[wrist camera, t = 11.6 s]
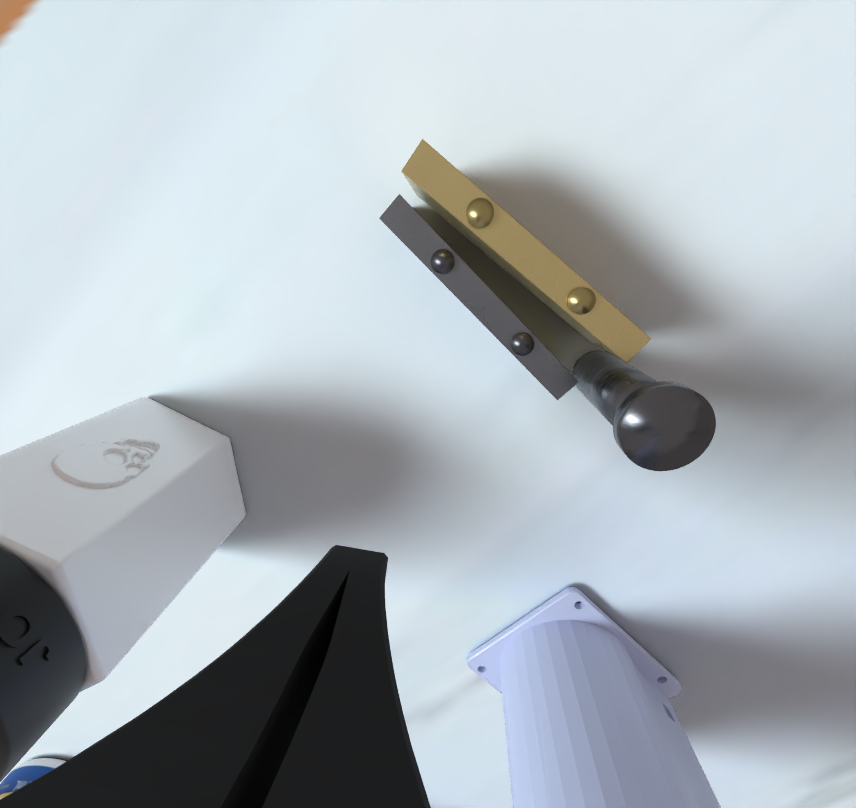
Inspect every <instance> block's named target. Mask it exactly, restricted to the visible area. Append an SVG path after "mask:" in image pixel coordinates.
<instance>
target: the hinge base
mask: <svg viewBox="0 0 856 808" xmlns="http://www.w3.org/2000/svg"><path fill="white" fill-rule="evenodd" d="M380 219H381V221H382V222H383V223H384V224H385V225H386V226H387V227H388V228H389V229H390V230H391V231H392V232H393V233H394V234H395V235H396V236H397V237H398V238H399V239H400V240H401V241H402V242H403V243H404V244H405V245H406V246H407V247H408V248H409V249H410V250H411V251H412V252H413V253H414V254H415V255H416V256H417V257H418V258H419V259H420V260H421V261H422V262H423V263H424V264H425V265H426V266H427V267H428V268H429V269H430V271H431V272H432V273H433V274H434V275H435V276H436V277H437V278H438V279H439V280H440V281H441V282H442V283H443V284H444V285H445V286H446V287H447V288H448V289H449V290H450V291H451V292H452V293H453V294H454V295H455V296H456V297H457V298H458V299H459V300H460V301H461V302H462V303H463V304H464V305H465V306H466V307H467V308H468V309H469V310H470V311H471V312H472V313H473V314H474V315H475V316H476V317H477V318H478V319H479V321H480V322H481V323H482V324H483V325H484V326H485V327H486V328H487V329H488V330H489V331H490V332H491V333H492V334H493V335H494V336H495V337H496V338H497V339H498V340H499V341H500V342H501V343H502V344H503V345H504V346H505V347H506V348H507V349H508V350H509V351H510V352H511V353H512V354H513V355H514V356H515V357H516V358H517V359H518V360H519V361H520V362H521V363H522V364H523V365H524V366H525V367H526V368H527V370H528V371H529V372H530V373H531V374H532V375H533V376H534V377H535V378H536V379H537V380H538V381H539V382H540V383H541V384H542V385H543V386H544V387H545V388H546V389H547V390H548V391H549V392H550V393H551V394H552V395H553V396H554V397H555V398H556V399H557V400H558V399H559V398H561V397H562V396H563V395H564V394H565V393H566V392H568V391H569V390H570V389H571V388H572V387H573V386H575V385H576V387H577V388H578V389H579V390H580V391H581V392H582V393H583V395H584V396H585V397H586V398H587V399H588V400H589V401H590V402H591V403H592V404H593V405H594V406H595V407H596V408H597V409H598V410H599V412H600V413H601V414H602V415H603V416H604V417H605V418H606V419H607V420H608V421H609V422H610V423H611V424H612V425H613V434H614V438H615V440H616V443H617V444H618V446H619V447H620V448H621V450H622V451H623V452H624V453H625V454H626V455H627V457H628V458H629V459H630V460H631V461H632V462H634V463H635V464H637V465H638V466H640V467H642V468H645V469H648V470H653V471H668V470H674V469H678V468H680V467H683V466H685V465H687V464H689V463H691V462H692V461H694V460H695V459H697V458H698V457H699V456H700V455H701V454H702V453H703V452H704V451H705V450H706V449H707V447H708V446H709V444H710V442H711V440H712V438H713V436H714V432H715V426H716V420H715V414H714V411H713V409H712V407H711V405H710V404H709V402H708V401H707V400H706V399H705V398H704V397H703V396H701V395H700V394H699V393H697V392H695V391H693V390H691V389H689V388H688V387H686V386H684V385H681V384H678V383H674V382H665V381H664V382H656V381H655V380H653V379H651V378H650V377H648V376H646V375H645V374H643V373H641V372H640V371H638V370H636V369H635V368H633V367H631V366H630V365H628V364H626V363H625V362H623V361H621V360H620V359H618V358H616V357H615V356H613V355H611V354H610V353H608V352H605V351H593V352H589V353H587V354H585V355H584V356H582V357H581V358H580V359H579V360H578V361H577V363H576V364H575V366H574V369H573V375H572V374H571V373H570V372H569V371H568V370H567V369H566V368H565V367H564V366H563V365H562V364H561V363H560V362H559V361H558V360H557V358H556V357H555V356H554V355H553V354H552V353H551V352H550V351H549V350H548V349H547V348H546V347H545V346H544V345H543V344H542V343H541V342H540V341H539V340H538V339H537V338H536V337H535V335H534V334H533V333H532V332H531V331H530V330H529V329H528V328H527V327H526V326H525V325H524V324H523V323H522V322H521V321H520V320H519V319H518V318H517V317H516V316H515V315H514V313H513V312H512V311H511V310H510V309H509V308H508V307H507V306H506V305H505V304H504V303H503V302H502V301H501V300H500V299H499V298H498V297H497V296H496V295H495V294H494V293H493V292H492V290H491V289H490V288H489V287H488V286H487V285H486V284H485V283H484V282H483V281H482V280H481V279H480V278H479V277H478V276H477V275H476V274H475V273H474V272H473V271H472V270H471V269H470V267H469V266H468V265H467V264H466V263H465V262H464V261H463V260H462V259H461V258H460V257H459V256H458V255H457V254H456V253H455V252H454V251H453V250H452V249H451V248H450V247H449V245H448V244H447V243H446V242H445V241H444V240H443V239H442V238H441V237H440V236H439V235H438V234H437V233H436V232H435V231H434V230H433V229H432V228H431V227H430V226H429V225H428V224H427V222H426V221H425V220H424V219H423V218H422V217H421V216H420V215H419V214H418V213H417V212H416V211H415V210H414V209H413V208H412V207H411V206H410V205H409V204H408V203H407V202H406V201H405V199H404V198H403V197H402V196H401V195H400V194H399V195H398V196H397V198H396V199H395V200H394V201H393V202H392V204H391V205H390V206H389V207H388V208H387V210H386V211H385V212H384V213H383V214H382V216H381V217H380Z"/></svg>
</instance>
